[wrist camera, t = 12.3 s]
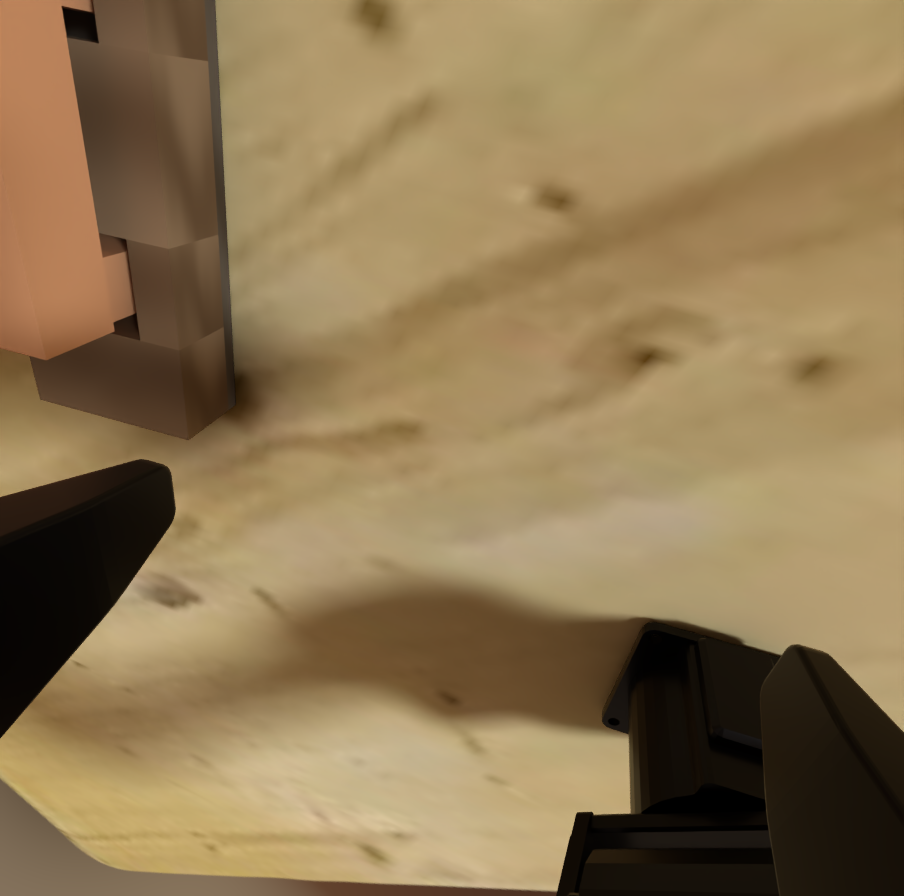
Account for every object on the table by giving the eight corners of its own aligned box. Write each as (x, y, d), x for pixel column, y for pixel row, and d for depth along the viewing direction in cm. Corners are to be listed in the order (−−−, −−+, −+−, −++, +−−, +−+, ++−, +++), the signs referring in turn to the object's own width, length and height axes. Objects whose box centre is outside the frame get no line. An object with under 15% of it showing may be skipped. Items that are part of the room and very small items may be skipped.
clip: (186, 300, 20) (46, 360, 15) (111, 283, 21) (-49, 335, 16) (152, -67, 15) (-76, -159, 10) (54, -82, 16) (-214, -178, 11)
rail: (235, 404, 23) (188, 440, 20) (101, 369, 24) (40, 399, 21) (200, -274, 13) (105, -364, 11) (-19, -296, 14) (-156, -386, 12)
